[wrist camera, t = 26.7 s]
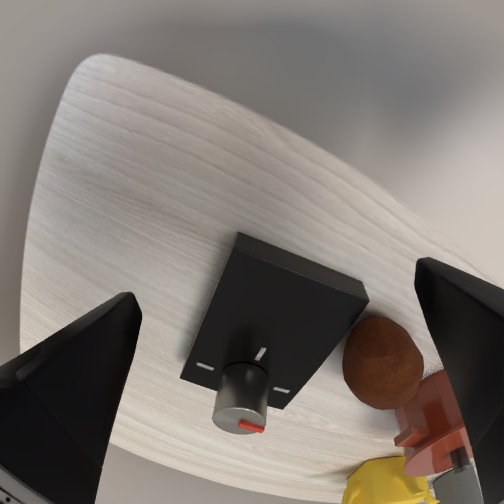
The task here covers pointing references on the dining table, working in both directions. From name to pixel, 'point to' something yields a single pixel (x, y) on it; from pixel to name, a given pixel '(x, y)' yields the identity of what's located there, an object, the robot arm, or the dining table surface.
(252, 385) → the hob knob
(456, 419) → the pot
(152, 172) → the dining table surface
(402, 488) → the teapot
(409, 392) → the potato
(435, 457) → the pot lid
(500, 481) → the robot arm
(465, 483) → the water bottle
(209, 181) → the dining table surface
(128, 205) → the dining table surface
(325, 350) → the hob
